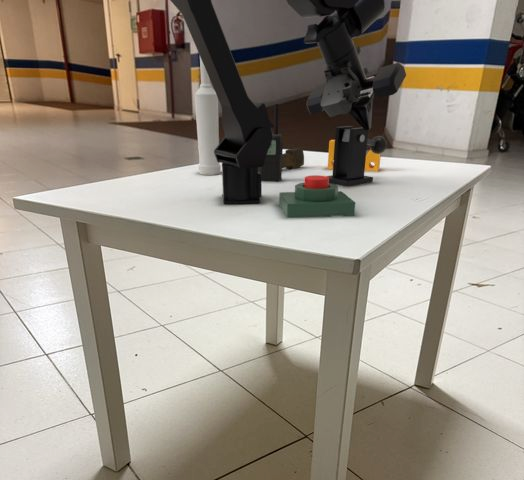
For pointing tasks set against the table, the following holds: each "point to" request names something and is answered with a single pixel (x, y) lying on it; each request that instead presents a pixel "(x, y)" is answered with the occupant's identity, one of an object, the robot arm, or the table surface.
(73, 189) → the table surface
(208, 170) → the bottle
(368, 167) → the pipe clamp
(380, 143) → the lever
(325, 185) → the button
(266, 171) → the walkie-talkie
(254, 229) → the table surface
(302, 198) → the button box
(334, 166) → the bracket
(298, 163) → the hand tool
